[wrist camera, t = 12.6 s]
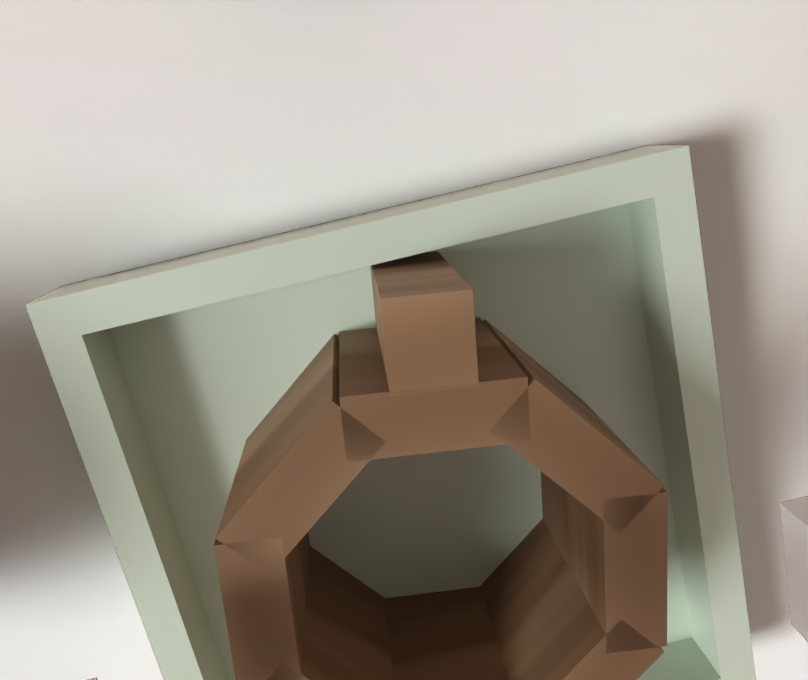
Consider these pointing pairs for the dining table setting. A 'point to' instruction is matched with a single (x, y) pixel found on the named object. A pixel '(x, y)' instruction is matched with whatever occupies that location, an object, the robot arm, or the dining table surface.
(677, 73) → the dining table surface
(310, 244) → the tray
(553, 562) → the ring
